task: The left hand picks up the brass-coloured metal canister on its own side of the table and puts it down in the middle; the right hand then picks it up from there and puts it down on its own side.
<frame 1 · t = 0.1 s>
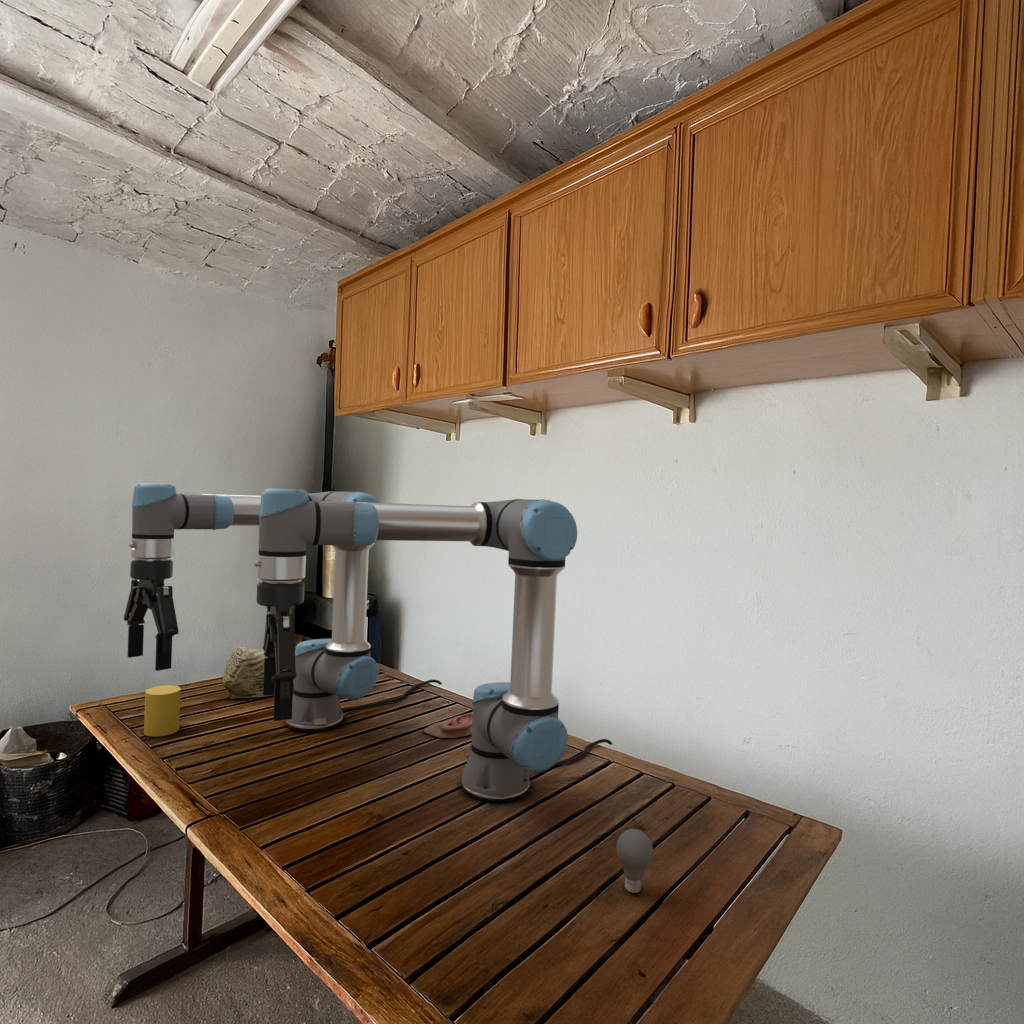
left hand: (148, 662, 129), 28 cm above the table, tool pointing down, fingers open, 13 cm apart
right hand: (276, 706, 107), 28 cm above the table, tool pointing down, fingers open, 13 cm apart
light bulb: (632, 891, 106), on the table
canister: (161, 730, 166), on the table
anatomical model: (449, 731, 174), on the table
fossil: (254, 694, 198), on the table
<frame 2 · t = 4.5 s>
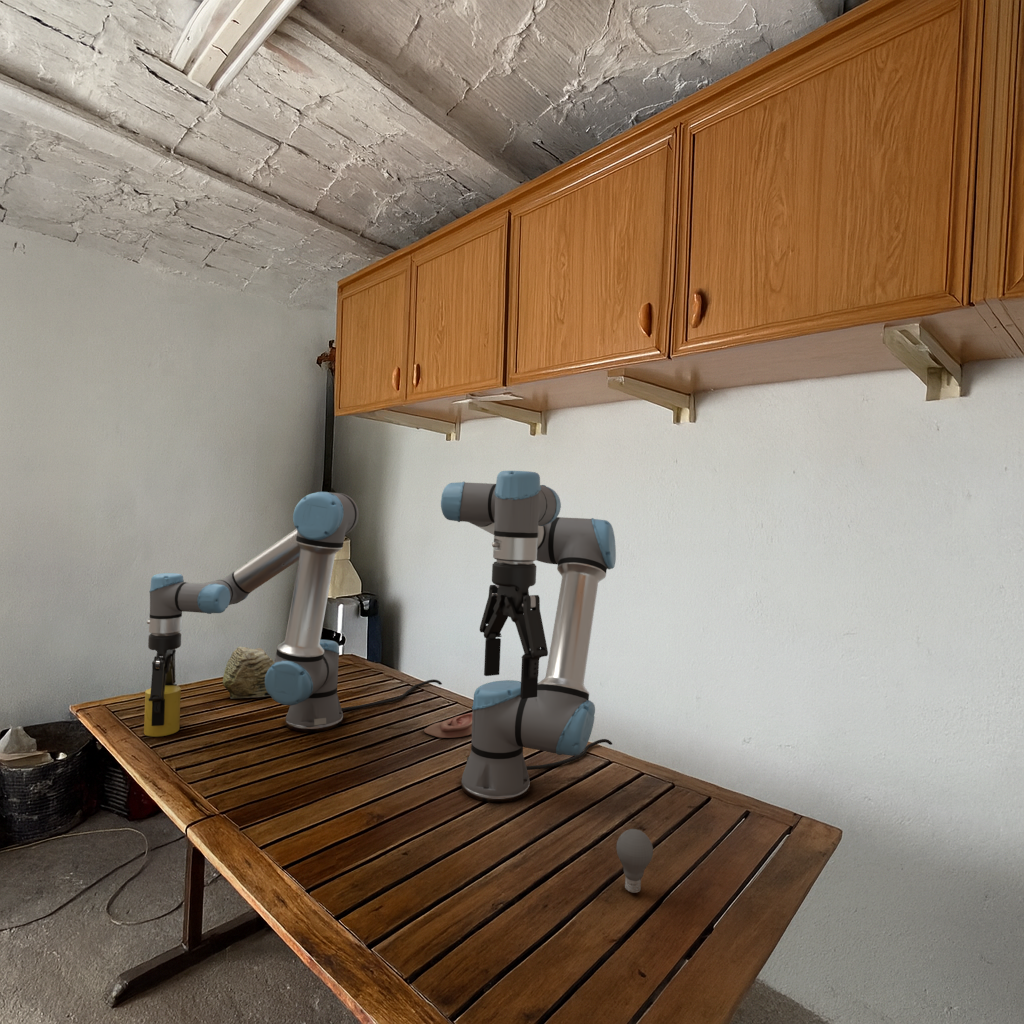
left hand: (162, 719, 166), 3 cm above the table, tool pointing down, fingers closed on canister, 8 cm apart
right hand: (509, 685, 108), 33 cm above the table, tool pointing down, fingers open, 13 cm apart
canister: (161, 730, 166), on the table, touching left hand
everything else where it was.
when the left hand's fingers open (5 cm above the table, at t = 11.7 s): canister drops 2 cm, on the table.
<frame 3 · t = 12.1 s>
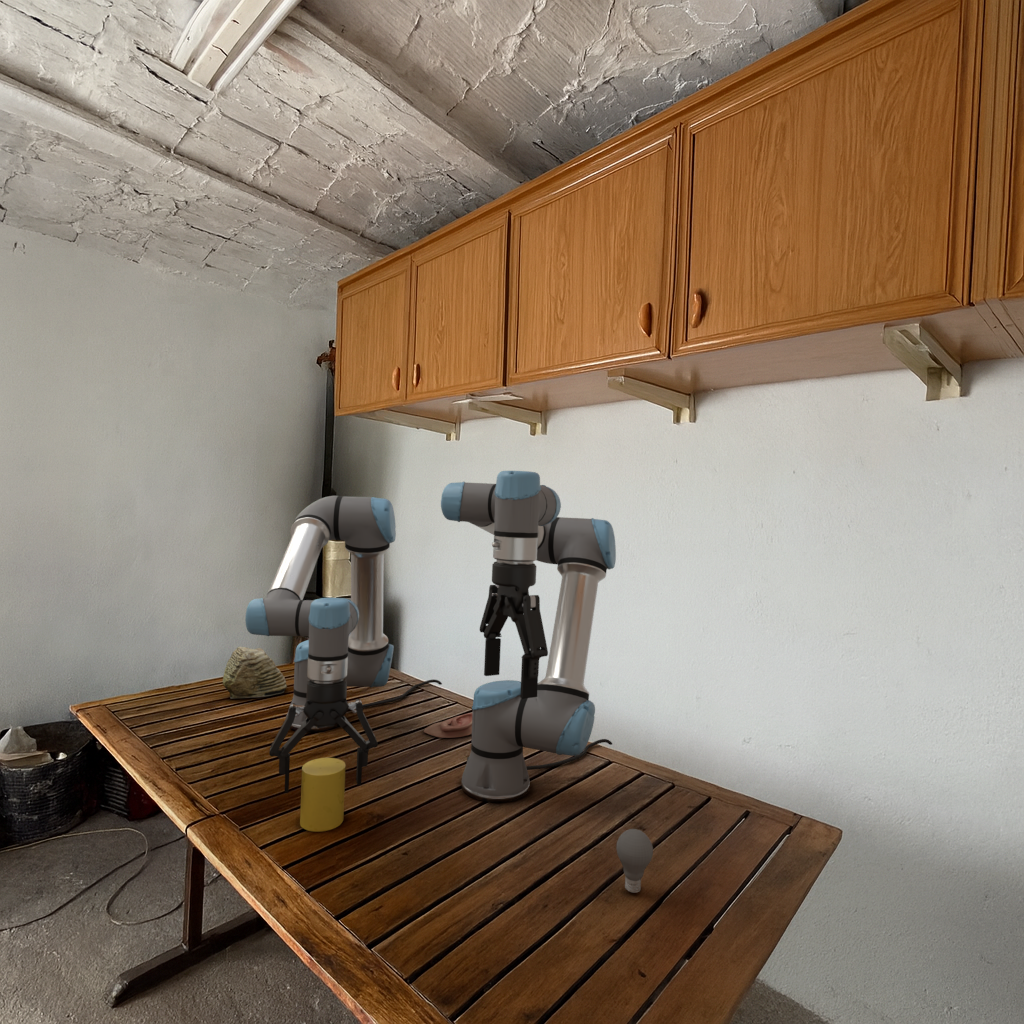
left hand: (323, 786, 124), 7 cm above the table, tool pointing down, fingers open, 13 cm apart
right hand: (509, 685, 108), 33 cm above the table, tool pointing down, fingers open, 13 cm apart
canister: (321, 820, 124), on the table
everything else where it was.
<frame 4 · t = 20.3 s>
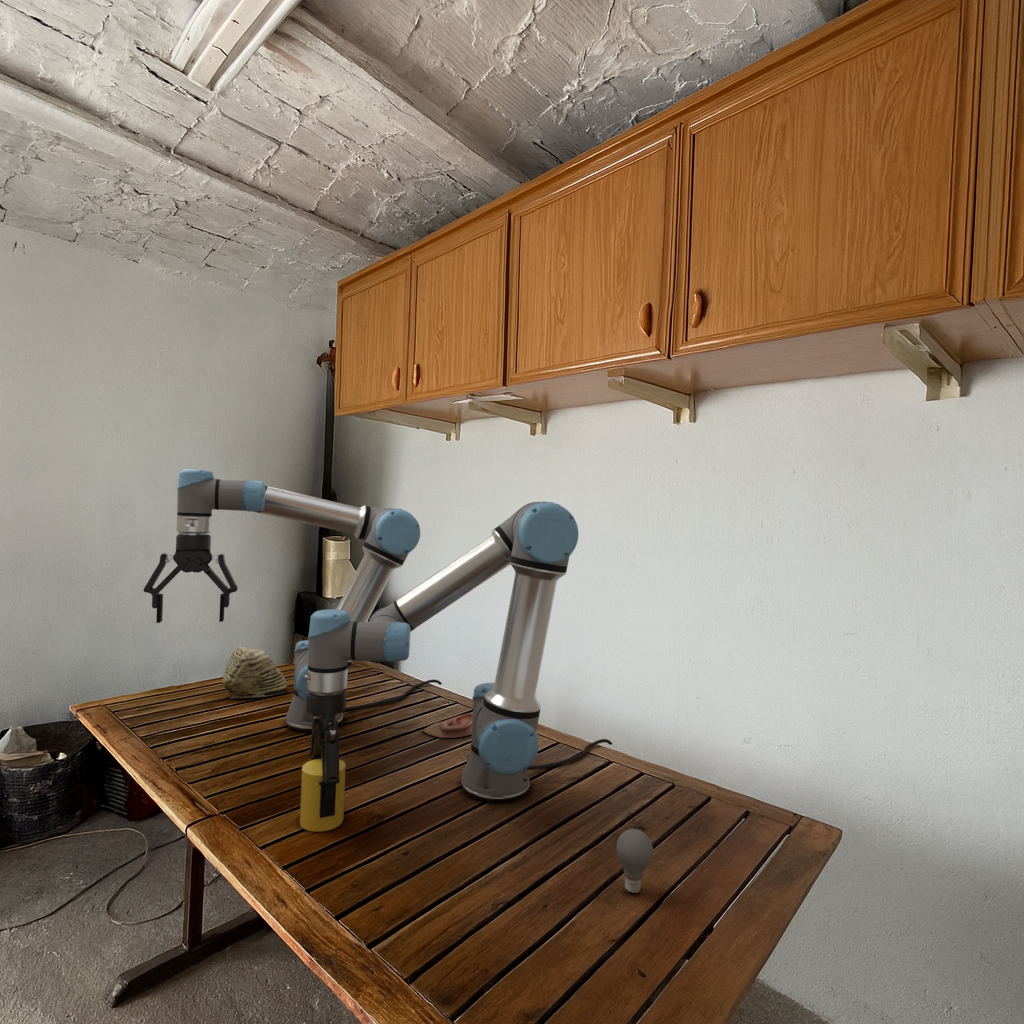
left hand: (190, 621, 153), 32 cm above the table, tool pointing down, fingers open, 13 cm apart
right hand: (322, 805, 124), 3 cm above the table, tool pointing down, fingers closed on canister, 8 cm apart
canister: (321, 820, 124), on the table, touching right hand
everything else where it was.
when the right hand's fingers open (5 cm above the table, at t = 25.3 s): canister drops 2 cm, on the table.
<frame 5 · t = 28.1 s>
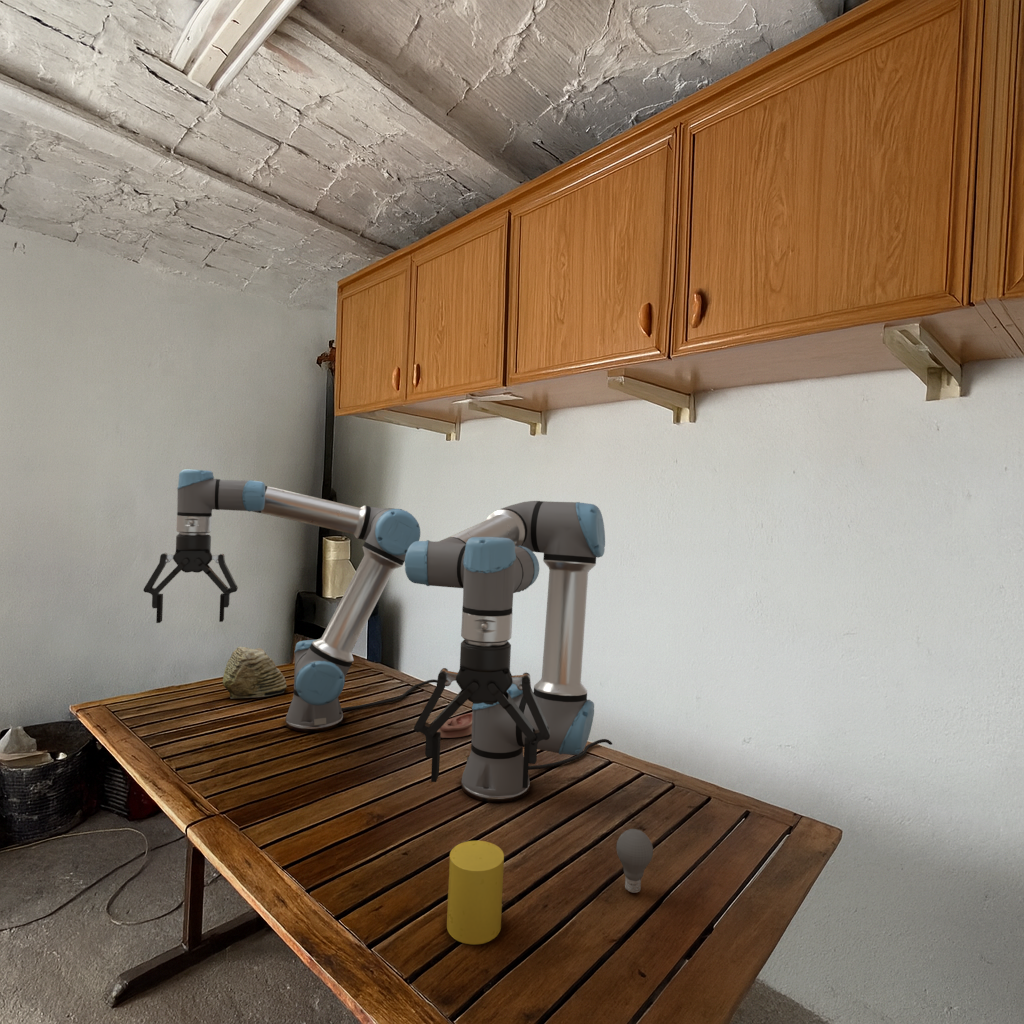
left hand: (190, 621, 153), 32 cm above the table, tool pointing down, fingers open, 13 cm apart
right hand: (480, 781, 95), 22 cm above the table, tool pointing down, fingers open, 13 cm apart
canister: (473, 925, 96), on the table
everything else where it was.
at the end: canister inside the target area (0.0 cm from its centre), on the table; canister tilted 0°; the two hands never held the canister at the same time; the left hand is holding nothing; the right hand is holding nothing; canister at rest at the end (0.0 cm/s) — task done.
